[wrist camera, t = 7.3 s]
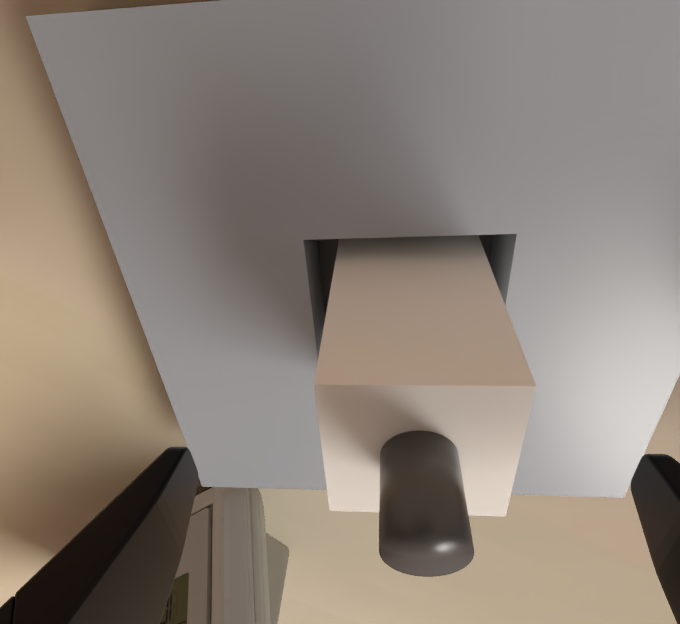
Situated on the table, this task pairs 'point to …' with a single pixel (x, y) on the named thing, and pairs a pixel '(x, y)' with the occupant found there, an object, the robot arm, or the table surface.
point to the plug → (420, 395)
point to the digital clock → (228, 563)
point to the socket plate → (386, 201)
